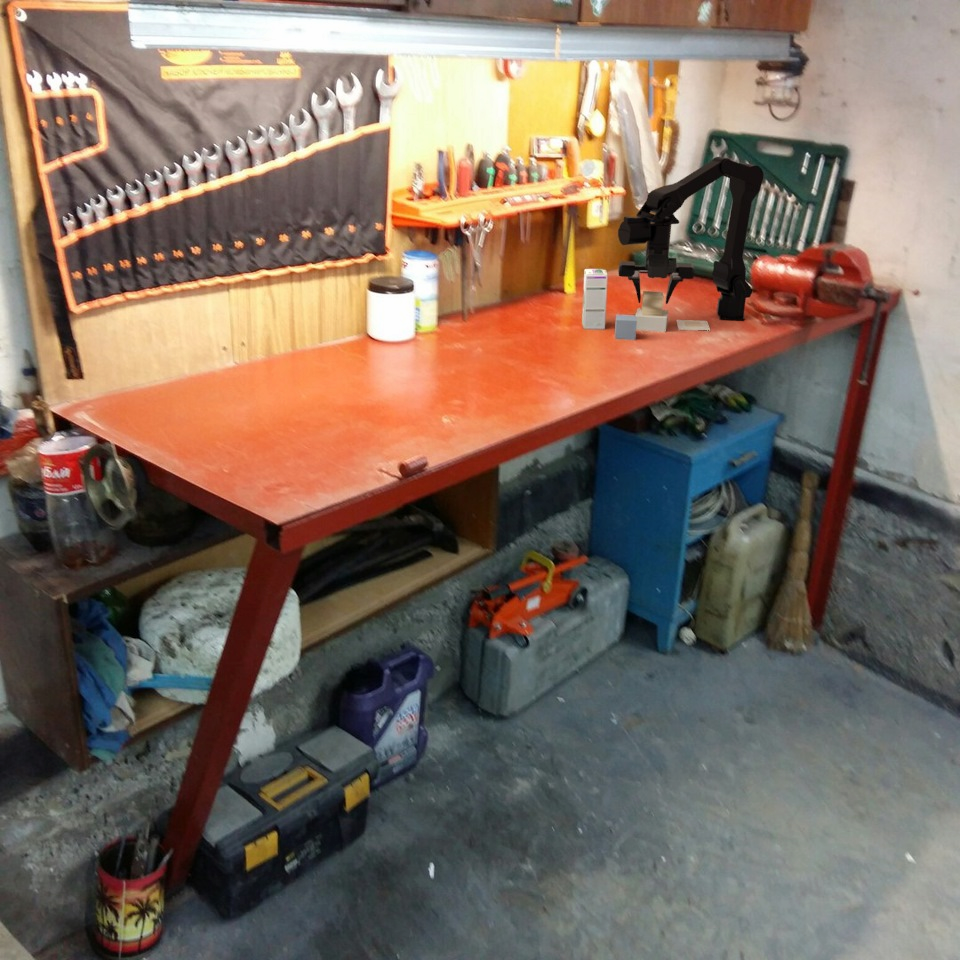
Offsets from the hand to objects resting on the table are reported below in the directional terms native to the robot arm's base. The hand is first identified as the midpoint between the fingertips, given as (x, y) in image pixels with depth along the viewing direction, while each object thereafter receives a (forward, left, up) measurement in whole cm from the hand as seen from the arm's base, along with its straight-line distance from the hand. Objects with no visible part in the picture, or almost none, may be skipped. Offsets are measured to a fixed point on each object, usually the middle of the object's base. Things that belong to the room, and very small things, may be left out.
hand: (652, 303), depth 254 cm
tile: (-11, -2, -6) cm, 13 cm away
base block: (0, 0, -7) cm, 7 cm away
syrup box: (+15, +2, -6) cm, 16 cm away
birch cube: (0, 0, -3) cm, 3 cm away
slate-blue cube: (+7, +10, -6) cm, 14 cm away
